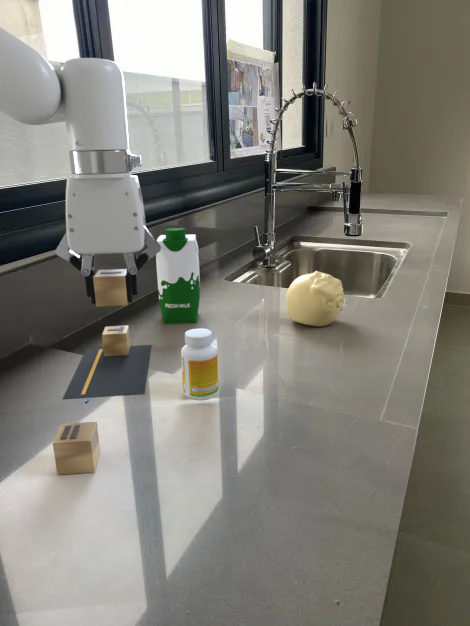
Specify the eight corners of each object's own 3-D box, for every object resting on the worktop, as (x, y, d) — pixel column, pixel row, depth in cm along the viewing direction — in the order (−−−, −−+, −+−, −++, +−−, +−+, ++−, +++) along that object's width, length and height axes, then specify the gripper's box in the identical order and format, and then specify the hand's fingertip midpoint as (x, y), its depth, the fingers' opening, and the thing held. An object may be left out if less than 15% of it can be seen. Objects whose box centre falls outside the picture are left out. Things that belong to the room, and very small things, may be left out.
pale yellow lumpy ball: (337, 334, 98) (339, 281, 94) (278, 327, 102) (279, 276, 99) (347, 316, 108) (350, 268, 104) (293, 311, 112) (294, 264, 109)
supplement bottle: (226, 391, 75) (224, 331, 72) (200, 404, 72) (197, 342, 69) (201, 381, 79) (199, 323, 76) (175, 393, 75) (172, 333, 72)
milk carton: (158, 327, 104) (151, 231, 97) (163, 313, 112) (157, 224, 106) (200, 325, 104) (196, 230, 98) (202, 312, 112) (198, 223, 106)
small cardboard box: (104, 356, 88) (101, 333, 87) (107, 347, 92) (105, 325, 91) (128, 355, 89) (126, 332, 87) (130, 346, 93) (128, 324, 91)
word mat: (62, 401, 73) (62, 398, 73) (86, 350, 92) (86, 347, 92) (144, 396, 74) (144, 393, 74) (151, 346, 93) (151, 344, 93)
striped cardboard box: (57, 475, 57) (52, 442, 55) (65, 454, 61) (60, 423, 59) (94, 472, 57) (90, 439, 56) (100, 451, 61) (96, 420, 60)
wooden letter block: (96, 306, 68) (92, 276, 67) (101, 298, 72) (98, 269, 71) (127, 305, 68) (124, 275, 67) (130, 297, 72) (128, 268, 71)
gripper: (167, 163, 68) (174, 291, 74) (42, 166, 67) (59, 295, 73) (164, 165, 61) (172, 306, 67) (25, 167, 60) (45, 311, 66)
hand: (113, 299), depth 70 cm, fingers closed on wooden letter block, 4 cm apart
